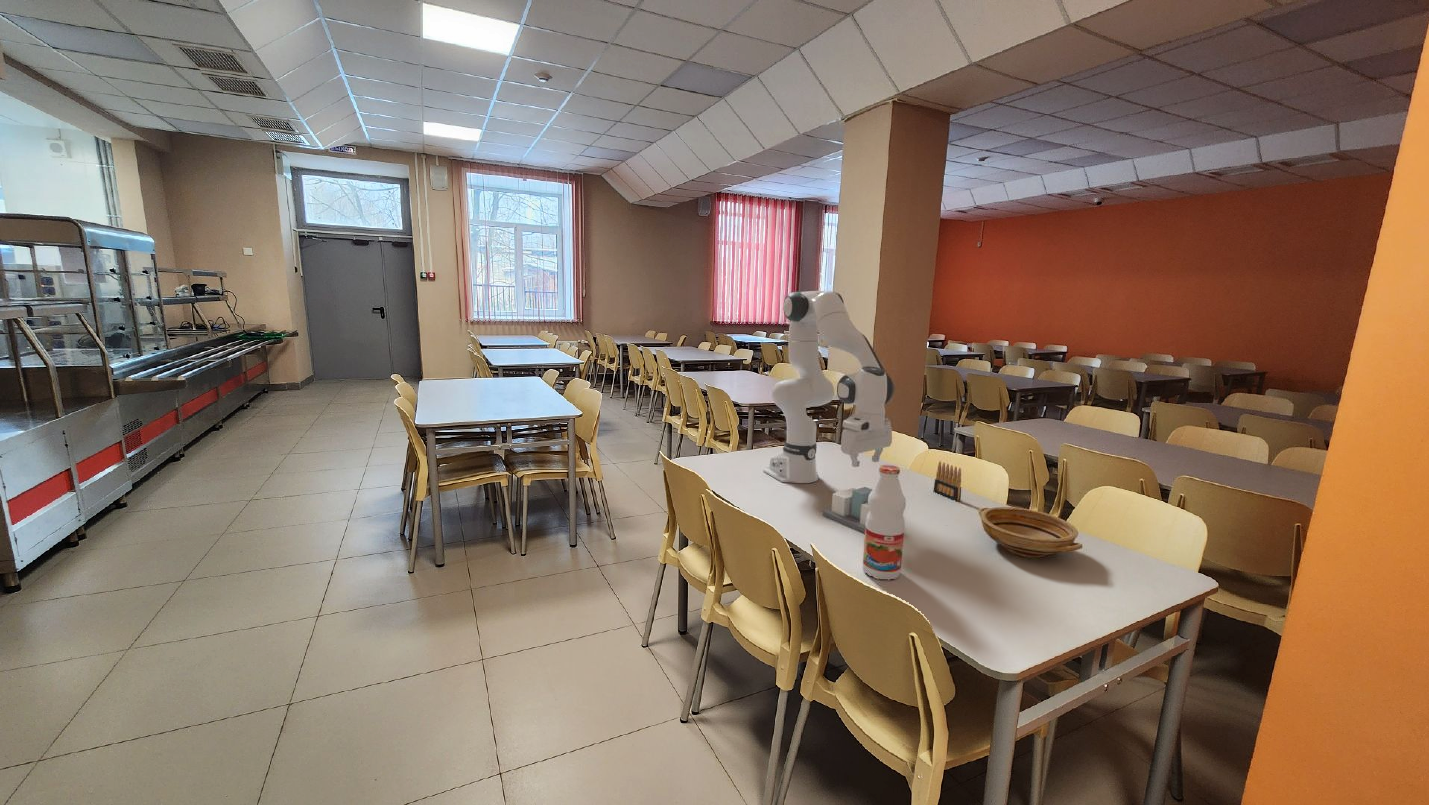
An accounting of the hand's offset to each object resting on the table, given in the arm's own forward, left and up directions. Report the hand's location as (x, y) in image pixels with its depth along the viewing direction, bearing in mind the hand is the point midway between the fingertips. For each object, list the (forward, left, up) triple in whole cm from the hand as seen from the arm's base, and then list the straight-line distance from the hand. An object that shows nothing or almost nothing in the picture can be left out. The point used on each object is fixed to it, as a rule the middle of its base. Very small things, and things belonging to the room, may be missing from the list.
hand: (865, 464), depth 174 cm
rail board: (0, 0, -19) cm, 19 cm away
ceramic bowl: (+39, +23, -19) cm, 49 cm away
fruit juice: (+25, -23, -19) cm, 39 cm away
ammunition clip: (+2, +44, -19) cm, 48 cm away
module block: (0, 0, -17) cm, 17 cm away
